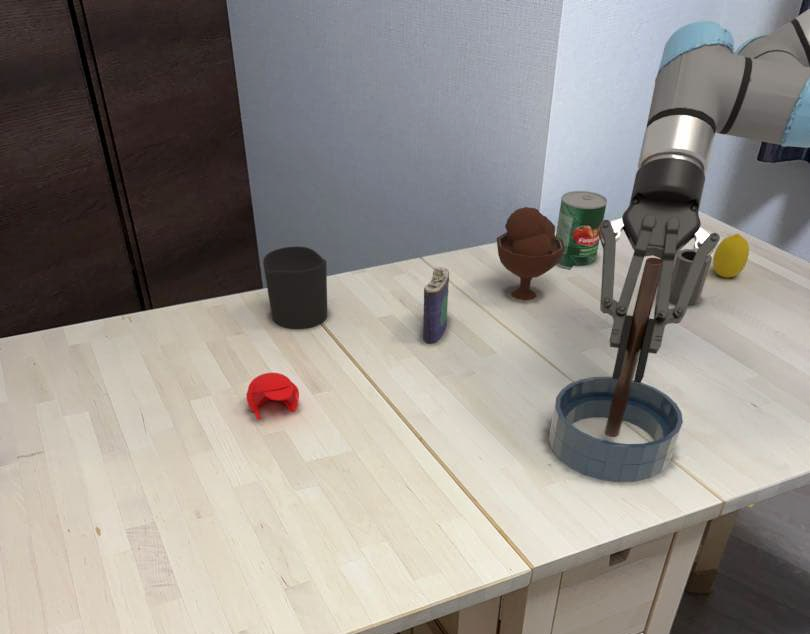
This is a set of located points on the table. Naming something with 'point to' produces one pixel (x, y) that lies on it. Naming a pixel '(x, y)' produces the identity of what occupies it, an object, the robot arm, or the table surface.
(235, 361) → the table surface
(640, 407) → the grey-blue hollow ring
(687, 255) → the utensil pot
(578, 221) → the canned tomato
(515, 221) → the ice cream bowl
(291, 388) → the cap
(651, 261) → the stick
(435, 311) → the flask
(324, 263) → the pen holder
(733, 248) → the lemon
